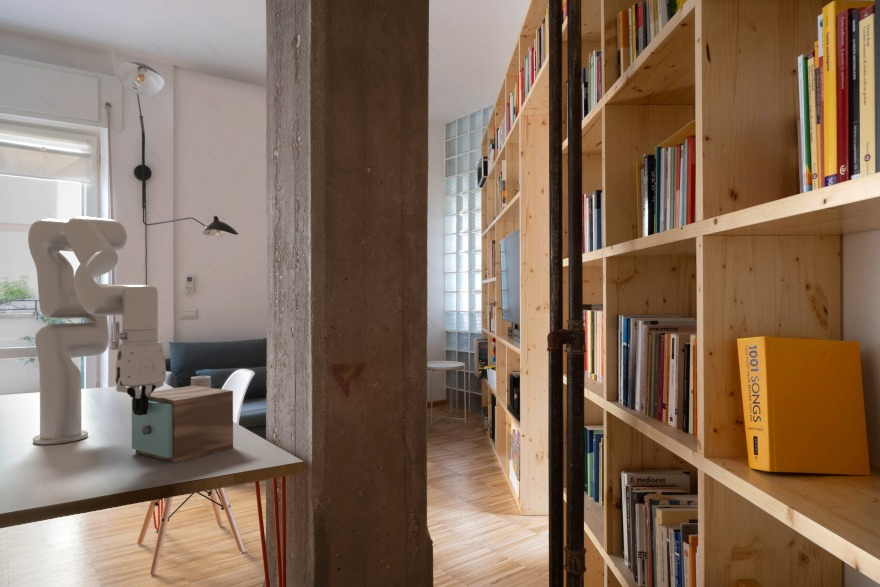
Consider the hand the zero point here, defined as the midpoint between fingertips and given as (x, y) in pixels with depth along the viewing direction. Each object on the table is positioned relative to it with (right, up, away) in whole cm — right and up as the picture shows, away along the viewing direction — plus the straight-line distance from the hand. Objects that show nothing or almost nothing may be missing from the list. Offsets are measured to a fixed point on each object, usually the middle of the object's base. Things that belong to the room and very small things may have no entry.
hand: (140, 414), depth 137 cm
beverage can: (0, -11, +36) cm, 37 cm away
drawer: (+5, -10, +7) cm, 13 cm away
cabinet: (+6, -11, +9) cm, 16 cm away
